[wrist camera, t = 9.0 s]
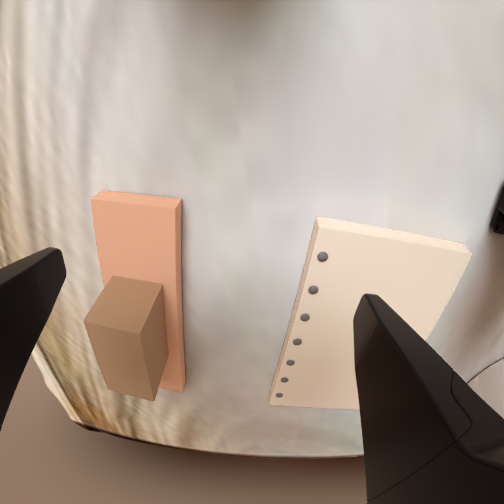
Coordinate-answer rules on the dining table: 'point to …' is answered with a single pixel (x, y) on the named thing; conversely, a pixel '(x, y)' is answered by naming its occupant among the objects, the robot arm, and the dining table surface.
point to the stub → (138, 294)
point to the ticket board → (348, 297)
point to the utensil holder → (491, 386)
